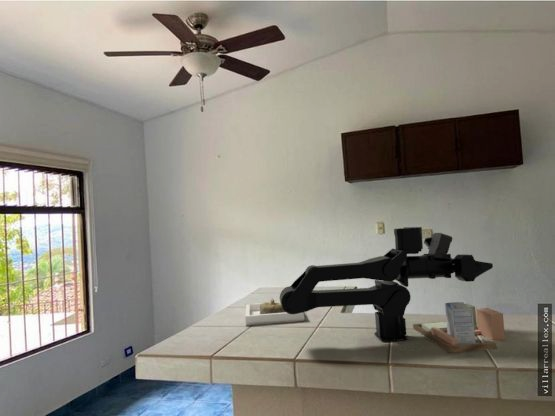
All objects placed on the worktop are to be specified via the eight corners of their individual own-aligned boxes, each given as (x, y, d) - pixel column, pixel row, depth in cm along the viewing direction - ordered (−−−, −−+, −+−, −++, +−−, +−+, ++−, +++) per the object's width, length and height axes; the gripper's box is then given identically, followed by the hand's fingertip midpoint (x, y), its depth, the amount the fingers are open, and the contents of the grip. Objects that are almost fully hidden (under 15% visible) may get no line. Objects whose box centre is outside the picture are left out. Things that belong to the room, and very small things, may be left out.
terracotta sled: (452, 350, 88) (450, 323, 88) (432, 337, 98) (430, 312, 99) (516, 344, 89) (514, 317, 89) (489, 332, 99) (487, 307, 99)
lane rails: (449, 353, 87) (449, 347, 87) (413, 328, 106) (412, 324, 106) (497, 348, 87) (496, 343, 87) (452, 325, 107) (451, 320, 107)
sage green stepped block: (430, 334, 100) (428, 311, 100) (422, 329, 105) (420, 306, 105) (478, 330, 101) (476, 307, 101) (467, 325, 106) (465, 302, 106)
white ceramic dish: (245, 325, 121) (245, 316, 121) (246, 312, 139) (246, 304, 139) (304, 320, 122) (303, 311, 122) (297, 308, 140) (297, 300, 140)
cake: (286, 319, 125) (284, 302, 125) (255, 320, 127) (253, 304, 126) (290, 309, 135) (289, 294, 134) (262, 310, 137) (260, 295, 136)
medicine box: (476, 348, 89) (473, 309, 89) (455, 348, 90) (452, 309, 90) (466, 337, 96) (464, 301, 97) (447, 337, 97) (444, 302, 98)
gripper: (437, 234, 93) (501, 232, 94) (406, 235, 111) (460, 233, 112) (440, 283, 92) (505, 280, 93) (409, 275, 111) (463, 273, 112)
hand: (481, 264), depth 102 cm, fingers open, 9 cm apart
